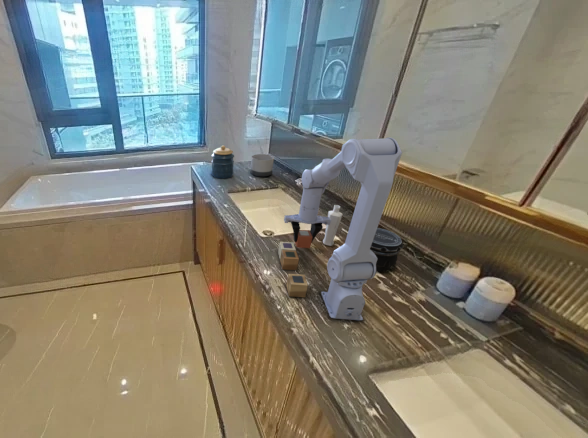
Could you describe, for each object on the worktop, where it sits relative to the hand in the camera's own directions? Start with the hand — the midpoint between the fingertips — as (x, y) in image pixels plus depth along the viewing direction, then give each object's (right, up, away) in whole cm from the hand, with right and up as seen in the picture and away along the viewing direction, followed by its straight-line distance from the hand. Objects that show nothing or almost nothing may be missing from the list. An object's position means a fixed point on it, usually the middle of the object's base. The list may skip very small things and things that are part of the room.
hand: (302, 240), depth 98 cm
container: (+21, -7, -4) cm, 23 cm away
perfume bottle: (+12, -1, +6) cm, 13 cm away
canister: (-22, +34, +71) cm, 81 cm away
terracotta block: (0, -1, +1) cm, 1 cm away
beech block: (-7, -8, -6) cm, 12 cm away
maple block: (-8, -13, -16) cm, 23 cm away
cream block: (-6, -5, -1) cm, 8 cm away
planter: (+1, +34, +71) cm, 79 cm away
